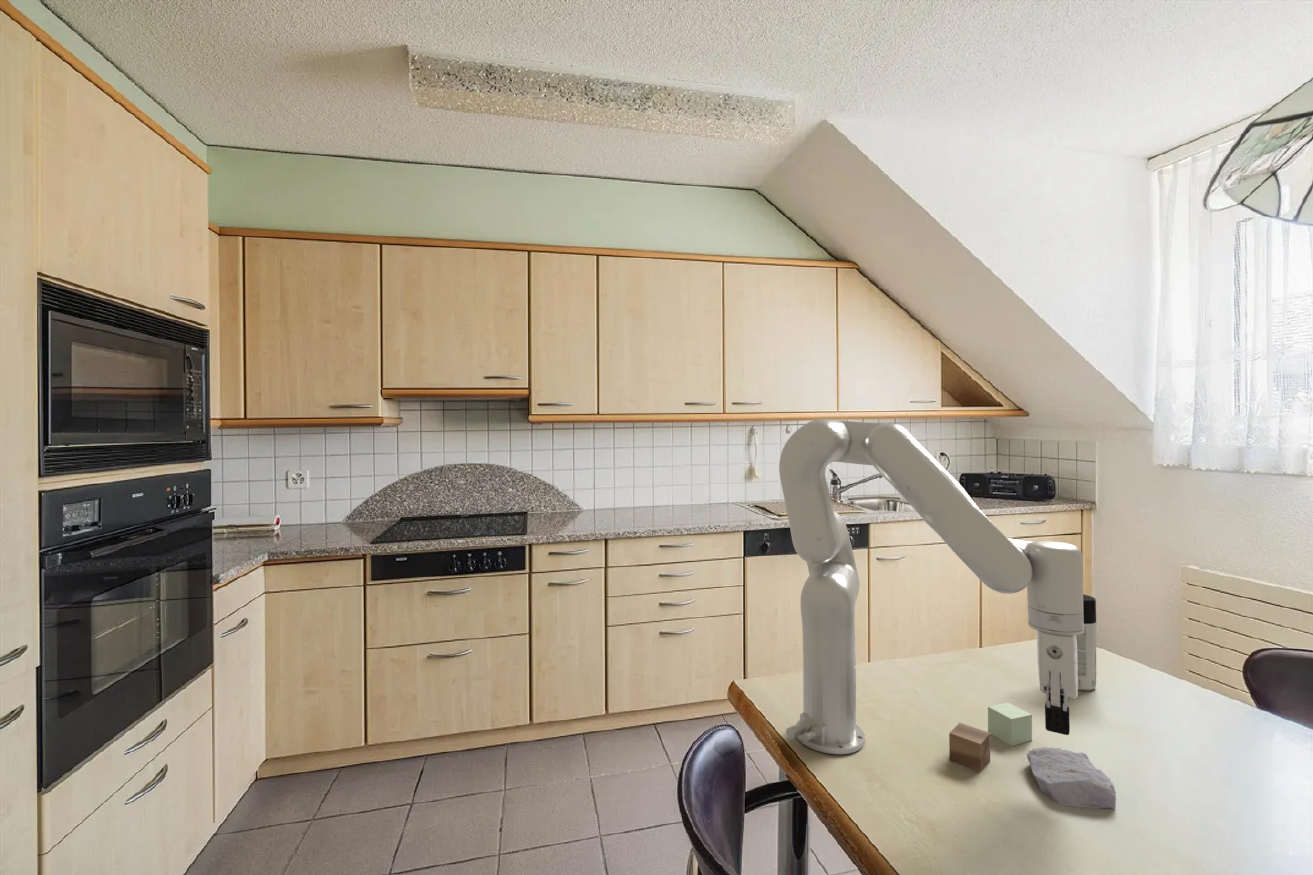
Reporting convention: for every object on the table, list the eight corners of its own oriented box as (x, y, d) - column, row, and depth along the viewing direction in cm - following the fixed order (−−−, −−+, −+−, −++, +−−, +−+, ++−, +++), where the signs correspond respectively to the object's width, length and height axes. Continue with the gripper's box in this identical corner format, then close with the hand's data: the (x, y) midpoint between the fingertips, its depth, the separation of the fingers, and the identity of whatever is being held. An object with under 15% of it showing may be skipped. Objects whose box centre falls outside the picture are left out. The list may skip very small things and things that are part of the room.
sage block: (1011, 746, 106) (1011, 718, 106) (987, 732, 111) (988, 706, 111) (1031, 741, 107) (1031, 714, 107) (1007, 727, 112) (1007, 702, 112)
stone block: (1053, 817, 90) (1125, 812, 88) (1045, 785, 90) (1117, 779, 88) (1021, 774, 101) (1084, 769, 99) (1015, 746, 101) (1078, 740, 99)
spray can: (1104, 691, 127) (1104, 600, 126) (1072, 691, 127) (1073, 600, 126) (1082, 678, 133) (1082, 591, 133) (1052, 678, 133) (1052, 592, 133)
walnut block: (980, 773, 98) (980, 743, 98) (949, 760, 101) (949, 732, 101) (990, 761, 101) (990, 732, 101) (959, 749, 105) (959, 722, 105)
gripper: (1083, 637, 86) (1086, 759, 86) (1083, 610, 98) (1086, 717, 98) (1024, 628, 91) (1026, 744, 91) (1031, 603, 103) (1033, 706, 103)
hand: (1057, 730), depth 95 cm, fingers closed
